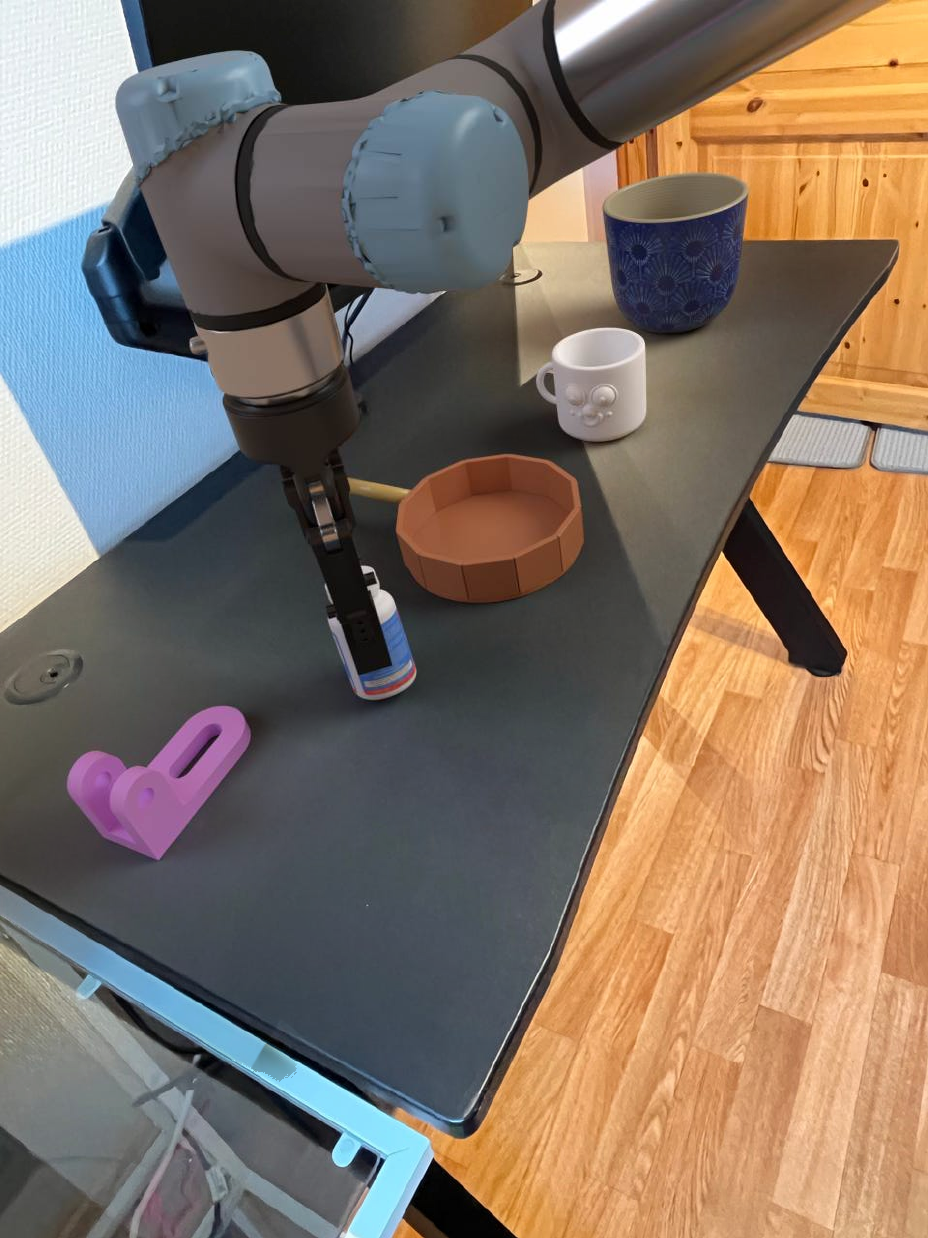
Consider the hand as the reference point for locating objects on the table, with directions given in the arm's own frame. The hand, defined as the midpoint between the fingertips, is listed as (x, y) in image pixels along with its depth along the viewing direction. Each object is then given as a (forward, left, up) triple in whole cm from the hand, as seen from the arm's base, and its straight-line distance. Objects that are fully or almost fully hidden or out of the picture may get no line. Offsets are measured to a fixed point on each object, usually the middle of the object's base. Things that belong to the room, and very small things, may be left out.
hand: (373, 664), depth 64 cm
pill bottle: (+2, 0, -5) cm, 5 cm away
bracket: (-1, +16, -5) cm, 17 cm away
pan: (+21, -10, -5) cm, 24 cm away
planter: (+53, -49, -5) cm, 72 cm away
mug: (+33, -30, -5) cm, 45 cm away
